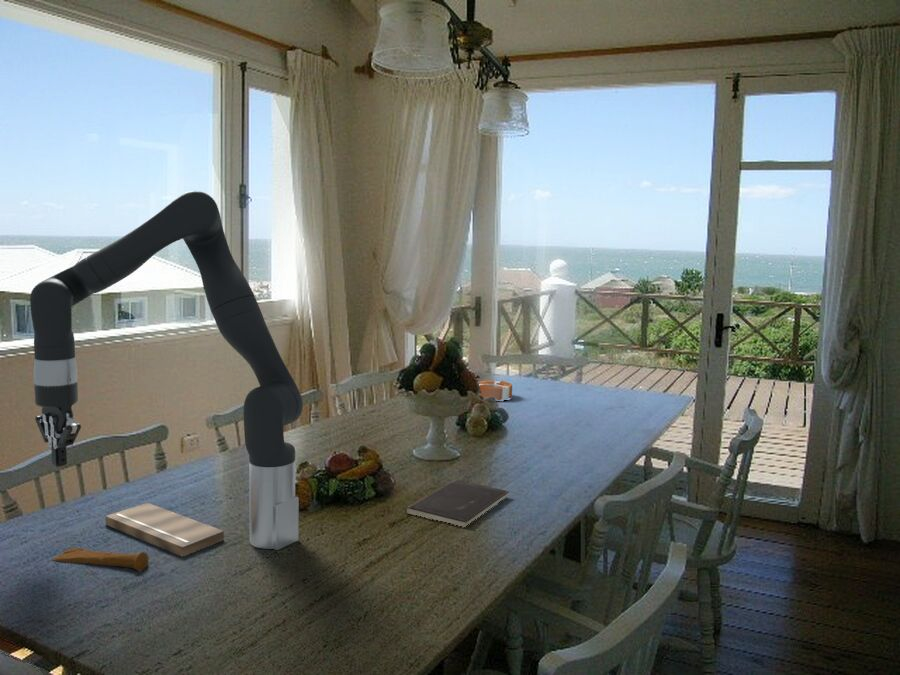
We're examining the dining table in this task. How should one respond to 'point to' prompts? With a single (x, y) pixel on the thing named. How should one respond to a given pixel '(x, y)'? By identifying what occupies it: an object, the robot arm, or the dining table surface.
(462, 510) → the hardcover book
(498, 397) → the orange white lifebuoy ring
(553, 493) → the dining table surface
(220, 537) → the pale wooden board
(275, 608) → the dining table surface
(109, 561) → the primitive tool
